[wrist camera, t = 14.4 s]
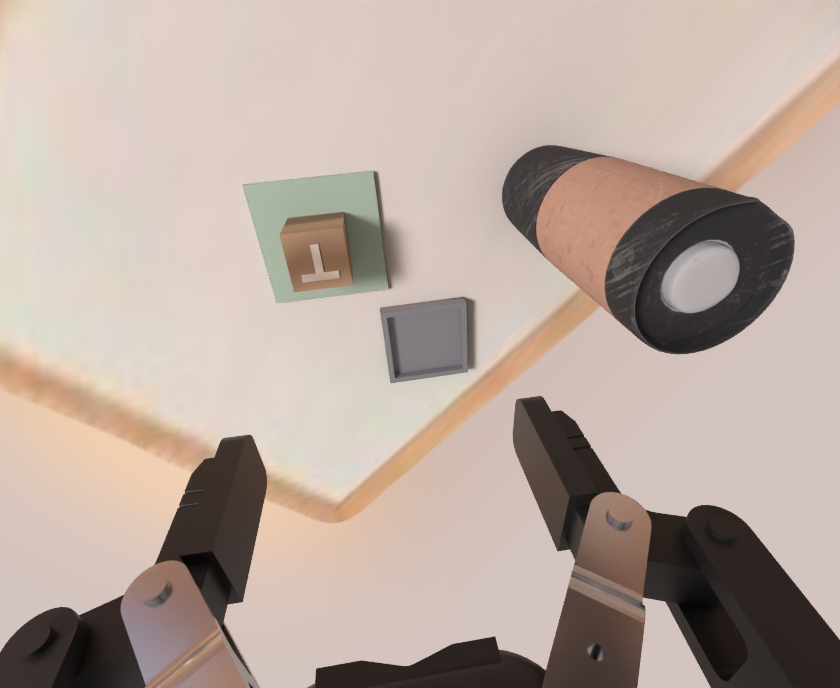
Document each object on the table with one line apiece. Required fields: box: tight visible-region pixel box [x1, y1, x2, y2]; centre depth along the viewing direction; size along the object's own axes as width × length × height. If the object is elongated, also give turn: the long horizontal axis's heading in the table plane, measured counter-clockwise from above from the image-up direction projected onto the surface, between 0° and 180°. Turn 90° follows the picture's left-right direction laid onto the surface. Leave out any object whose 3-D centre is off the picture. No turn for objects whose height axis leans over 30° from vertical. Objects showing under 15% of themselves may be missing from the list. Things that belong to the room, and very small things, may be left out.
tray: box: [380, 297, 468, 383], centre depth 41 cm, size 8×8×1 cm
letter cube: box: [280, 212, 353, 292], centre depth 33 cm, size 5×4×5 cm
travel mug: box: [502, 145, 795, 354], centre depth 27 cm, size 8×8×20 cm
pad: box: [243, 171, 388, 303], centre depth 35 cm, size 10×10×1 cm
